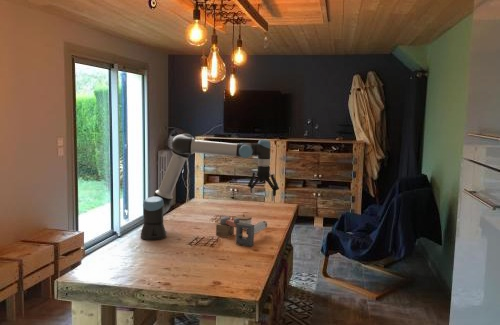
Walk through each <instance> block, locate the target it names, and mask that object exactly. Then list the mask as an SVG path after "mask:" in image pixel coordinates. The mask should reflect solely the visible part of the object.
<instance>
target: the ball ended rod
mask: <svg viewBox="0 0 500 325" xmlns="http://www.w3.org/2000/svg"><path fill="white" fill-rule="evenodd" d="M219 223H220V224H223V225H230V226H233V227H234V228H236V224H238V223H239V218H235V217H234V218H233V220H232V219H231V217H230V216H221V217H220V220H219Z"/></svg>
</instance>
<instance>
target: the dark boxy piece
mask: <svg viewBox="0 0 500 325" xmlns="http://www.w3.org/2000/svg"><path fill="white" fill-rule="evenodd" d="M254 225H255V224H252V223H251V224H246V223H238V224H236V227H235V230H236V232H235V233H236V234H235V245H237V246H243V247H249V248H251V247H253V246H254V245H255V244H254V243H255V234H254ZM243 228H248V234H247V236H243V233H244V232H243V230H244V229H243Z"/></svg>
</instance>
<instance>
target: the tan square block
mask: <svg viewBox="0 0 500 325" xmlns="http://www.w3.org/2000/svg"><path fill="white" fill-rule="evenodd" d="M215 226H216V227H215V229H216V230H215V236H218V237H224V238H229V237H231V236H233V235H235V227H233V226H230V225H223V224H220V222H219V223H217V224H216V225H215Z"/></svg>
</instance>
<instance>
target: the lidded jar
mask: <svg viewBox="0 0 500 325" xmlns="http://www.w3.org/2000/svg"><path fill="white" fill-rule="evenodd" d="M234 218H239V223H246V224H252V218H253V217H252V216H251V215H248V214H244V213H243V214H238V215H236V216H235V217H234ZM243 230H247V228H243Z"/></svg>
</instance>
